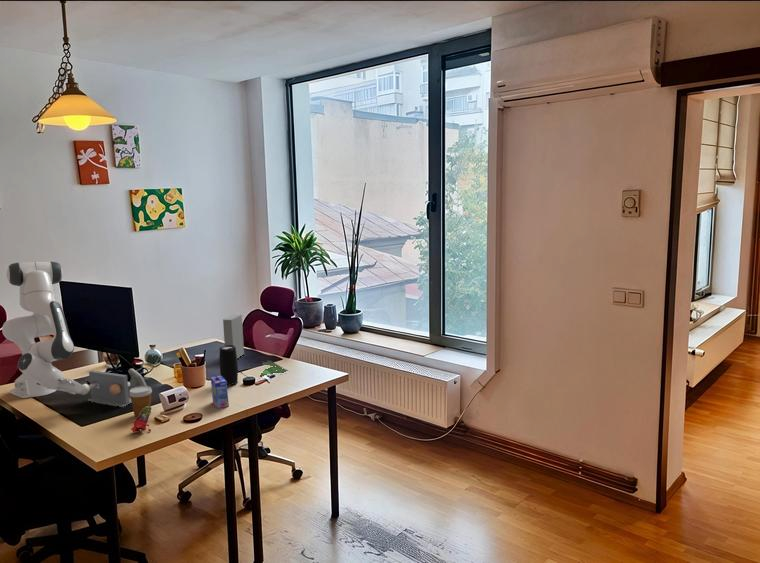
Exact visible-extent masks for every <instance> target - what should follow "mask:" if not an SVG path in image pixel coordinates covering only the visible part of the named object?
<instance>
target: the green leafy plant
mask: <svg viewBox="0 0 760 563" xmlns="http://www.w3.org/2000/svg"><path fill="white" fill-rule="evenodd" d="M266 361H267V362H263V361H262V362H263V363H262V364H263V365H270V366H273V367H270V368H268V369H265V370H264V371H263V373H261V375H260V377H262V376H264V375H267V374H273V373H284V372H286V371H289V370H287V369H286V368H284V367H282V366H280V365H279V364H277V363H275V361H273V360H266ZM275 366H276V367H275ZM282 368H283V369H282ZM276 370H277V371H276Z"/></svg>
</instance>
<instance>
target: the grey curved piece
mask: <svg viewBox="0 0 760 563" xmlns="http://www.w3.org/2000/svg"><path fill="white" fill-rule="evenodd" d="M127 372H128V374H129V376H130V380H129V381H128V382H130V386H129V387H128V391H129V392H130V390H131V389H132V388H135V387H139V386H148V385H147V383H146V381H145V379H144V377H143V376H142V375H141V374H140V373H139V372H138V371H137V370H135V369H134V368H129V369H128V371H127Z"/></svg>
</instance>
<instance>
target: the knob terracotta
mask: <svg viewBox="0 0 760 563" xmlns="http://www.w3.org/2000/svg"><path fill="white" fill-rule="evenodd" d="M129 386H130V382H129V381H128V387H129ZM110 392H111V394H113V395H116V394H119V393H120V392H121V385H119V384H114V385H112V386H110Z"/></svg>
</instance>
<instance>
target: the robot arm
mask: <svg viewBox="0 0 760 563" xmlns="http://www.w3.org/2000/svg"><path fill="white" fill-rule="evenodd" d="M5 273H6V278H7V280H8V282H9V283H10V285H12V286H17V287H19V306H20V308H22V309H23V310H24V311H26V312H28V313H29V312H31V313H32V314H30V315H25V316H19V317H14V318H10V319H8V320H6V321H5V322H3V325H2V329H1V331H2V335H3V336H4V337H5V339H7V340H8V341H10V342H12V343H14V344H16V346H17V347H18V348H19V349H20V352H21V354H22V355H21V356H20V358H19V359H18V361H17V368H18V369H19V371H20V372H21V373H22V374H20V376H18V377H17V378H16V379H15V380H14V388H13V389H11V390H9V392H8V393H9V394H10V395H14V396H15V397H18V398H20V399H27V398H34V397H35V398H36V397H42V396H47V395H49V394H52V393H55V392H56V391H60V392H61V391H62V392H66V393H68V394H70V395H76V394H78V395H79V394H80V392H81V391H82V389H83V386H82V385H83V384H81V383H79V382H77V381H76V380H73V379H71V378H65V377H64V372H63V371H62V370H60V369H58V368H57V367H56V366H54V365H53V362H56V361H62V360H66V359H69V358H71V356H72V355H73V353H74V350H75V345H74V342H73V339H72V338H71V335H70V331H69V328H68V324H67V319H66V317H65V313H64V310H63V307H62V305H61V304H60V303H59V302H58V301H57V300H56V299H55V296H54V288H53V285H55V284H59V283H60V282H61V281H62V278H63V275H64V271H63V268H62V265H61V264H60V263H58V262H56V261H36V260H35V261H27V262H26V261H24V262H13V263H11V264H9V265H8V268H7V269H6V272H5ZM50 335H53V338H49V339H46V340H41V341H38V342H36V341H35V338H40V337H45V336H50ZM80 395H81V394H80Z"/></svg>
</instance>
